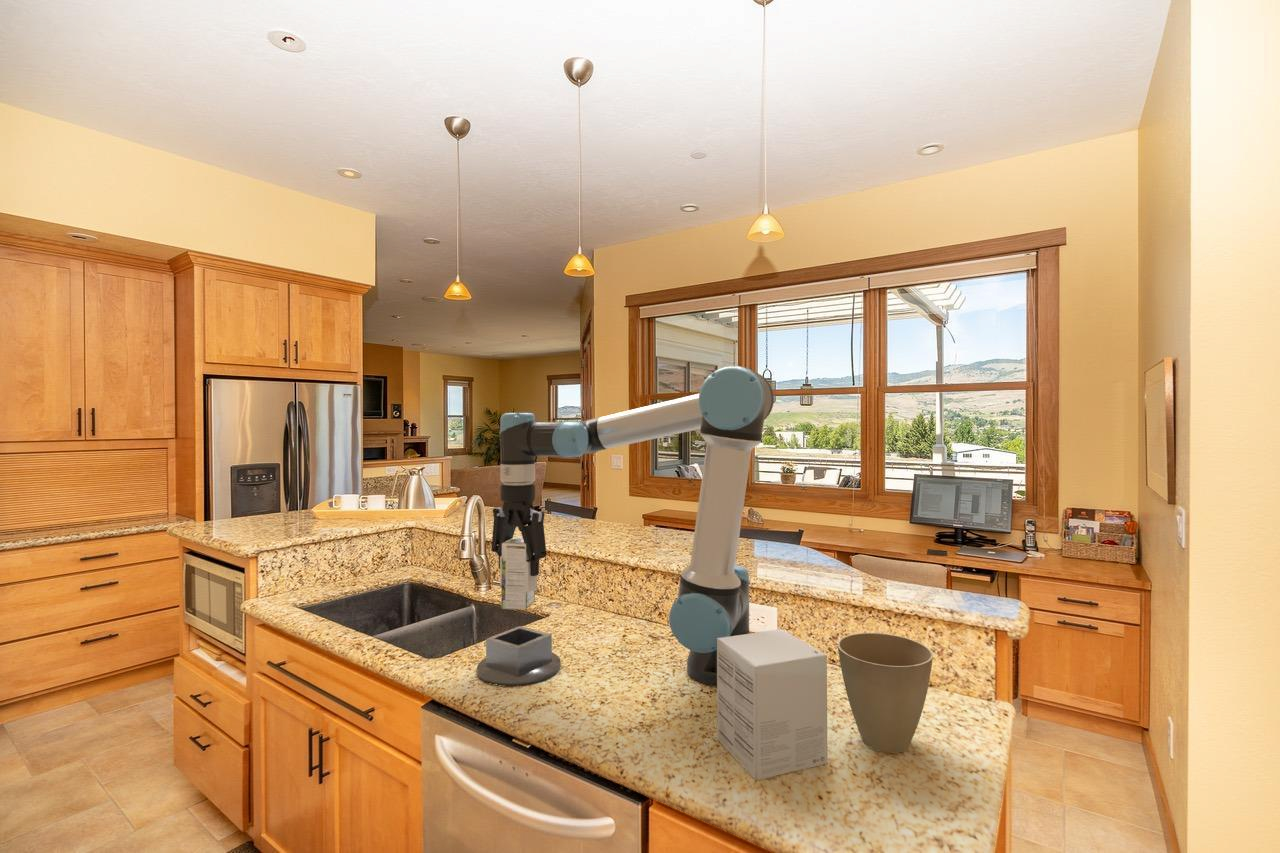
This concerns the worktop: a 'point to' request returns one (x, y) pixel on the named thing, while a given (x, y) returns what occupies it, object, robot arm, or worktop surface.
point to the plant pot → (885, 686)
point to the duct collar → (518, 658)
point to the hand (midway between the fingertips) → (518, 587)
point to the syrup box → (515, 576)
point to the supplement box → (772, 702)
